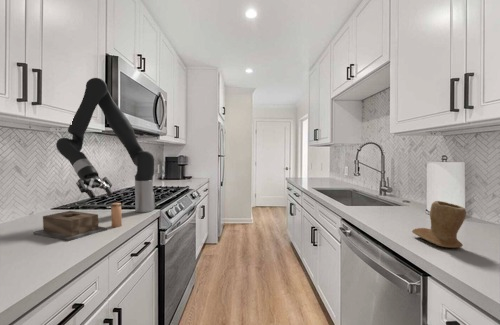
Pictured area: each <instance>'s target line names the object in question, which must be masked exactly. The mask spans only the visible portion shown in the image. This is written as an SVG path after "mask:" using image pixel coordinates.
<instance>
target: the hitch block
mask: <svg viewBox="0 0 500 325" xmlns="http://www.w3.org/2000/svg"><path fill="white" fill-rule="evenodd" d="M107 230H108V227H104V226H99V214H97V213H89V212H82V211H75V210H68V211H67V210H66V211H63V212H58V213H53V214H47V215H43V216H42V229H41V230H36V231H33V235H38V236H41V237H46V238H51V239H57V240H61V241H65V242H70V241H71V242H72V241H74V240H77V239H80V238H83V237H84V238H85V237H87V236H91V235H93V234H96V233H97V234H98V233H101V232H104V231H107Z"/></svg>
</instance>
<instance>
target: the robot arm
mask: <svg viewBox="0 0 500 325" xmlns="http://www.w3.org/2000/svg"><path fill="white" fill-rule="evenodd" d="M97 106H99V108H100V109H101V111H102V113H103V115H104V118H105V119H106V121H107V123H108V124H109V126H110V128H111V129H112V131H113V132H114V134H115V135H116V137H117V139H118V140H119V141H120V143H121V144H122V145H123V147H124V148H125V150H126V151H127V153H128V155H129V157H130V159H131V160H132V162H133V164H134V165H135V166H136V174H135V175H134V191H135V193H134V194H135V196H134V198H135V205H134V206H135V207H134V208H135V213H149V212H152V211H154V210H155V209H156V207H155V192H154V184H153V181H154V180H153V178H154V175H155V157H154V155H153V153H152V152H150V151H146V150H144V149H143V148H142V146H141V145H140V144H139V142H138V140H137V136H136V133H135V131H134V130H135V129H134V127H133V125H132V123H131V122H130V120H129V118H128V117H127V116H126V115H125V113H124V112H123V111H122V110H121V109H120V107H119V106H118V105H117V103H116V102H115V100H114V99H113V98H112V95H111V94H110V91H109V89H108V85H107V83H106V82H105V80H104V79H102V78H98V77H92V78H90V79H88V80H87V81H86V84H85V90H84V94H83V96H82V100H81V102H80V104H79V107H78V108H77V109H76V112H75V113H74V116H73V117H74V118H72V119H73V121H72V120H71V121H72V125H70V124H69V126H68V128H67V132H68V133H69V134H71V135H72V138H69V137H61V138H58V140H57V141H56V144H55V146H56V149H57V151H58V152H59V154H60V155H62V157H63V158H65V159H66V160H68V162H69V163H70V164H71V167H72V168H73V170H74V172H75V173H76V175H77V176H78V178H79V179H78V180H77V181H76V186H77V187H78V189H79V191H80V193H81V194H84V193H85V194H87V195H88V197H89V198H90V199H91V200H94V199H95V198H96V194H95V193H94V190H93V189H98V188H99V189H100V190H104V191H105V193H106V194H107V196H109V197H112V195H113V191H112V189H111V188H112V187H113V184H112V182H111V181H110V179H108V178H107V177H106V176H104V177H103V178H101V177H100V176H99V173H98V170H96V167H94V165H93V164H92V163H91V161H90V160H89V159H88V157H87V156H86V155H85V153H84V152H83V151H81V150H82V148H83V145H84V139H85V133H86V131H87V129H88V127H89V125H90V123H91V120H92V118H93V114H94V113H95V110H96V108H97Z"/></svg>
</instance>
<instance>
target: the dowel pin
mask: <svg viewBox="0 0 500 325" xmlns="http://www.w3.org/2000/svg"><path fill="white" fill-rule="evenodd" d="M110 210H111V211H110V214H111V221H110V222H111V227H112V228H120V227H121V226H122V222H123V219H122V203H121V202H114V203H113V202H112V203H111V204H110Z"/></svg>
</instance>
